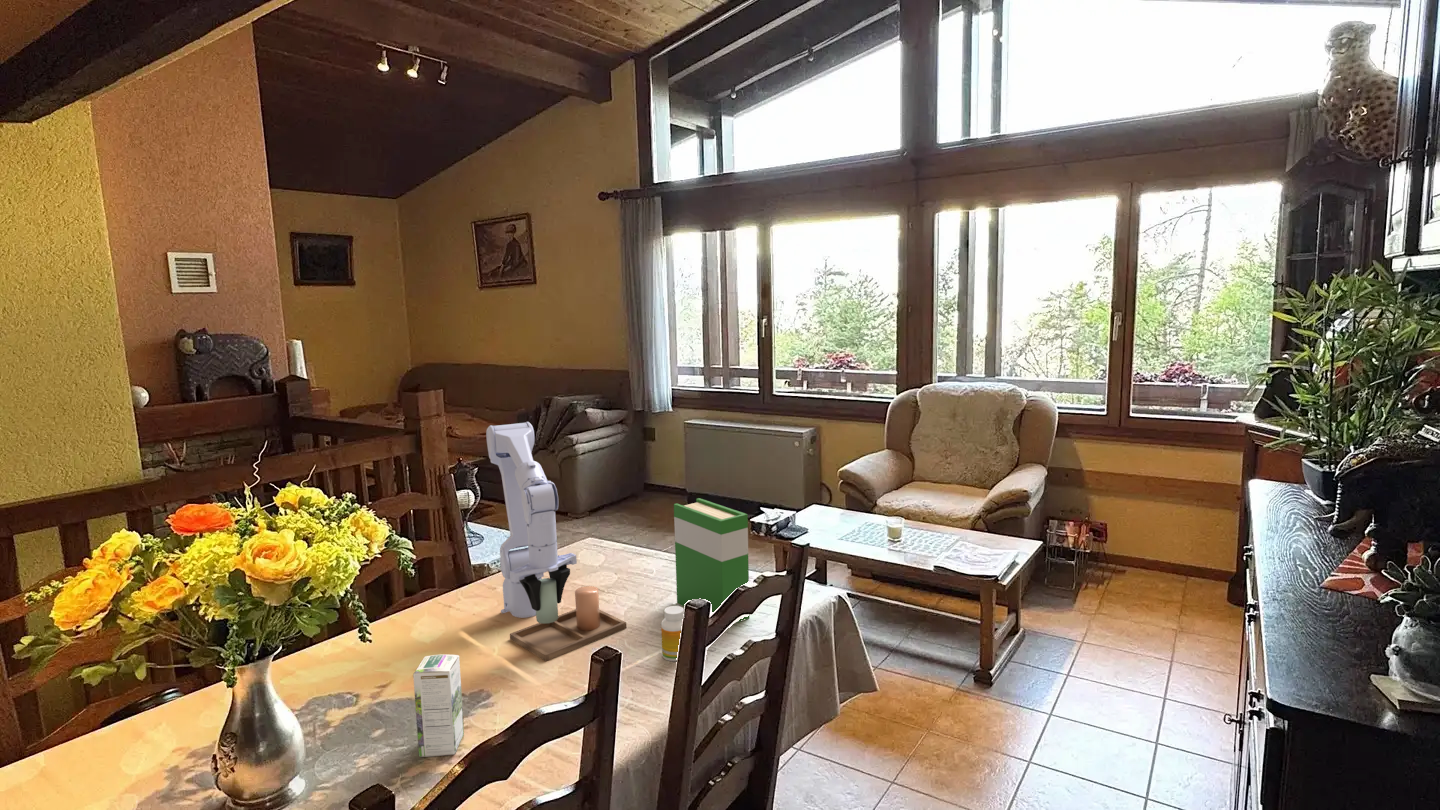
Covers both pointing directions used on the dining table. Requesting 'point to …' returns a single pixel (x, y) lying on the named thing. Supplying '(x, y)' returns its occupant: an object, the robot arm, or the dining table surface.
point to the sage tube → (547, 602)
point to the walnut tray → (563, 635)
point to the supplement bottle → (671, 631)
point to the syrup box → (438, 705)
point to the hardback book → (710, 551)
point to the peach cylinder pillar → (587, 608)
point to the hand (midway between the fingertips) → (546, 605)
